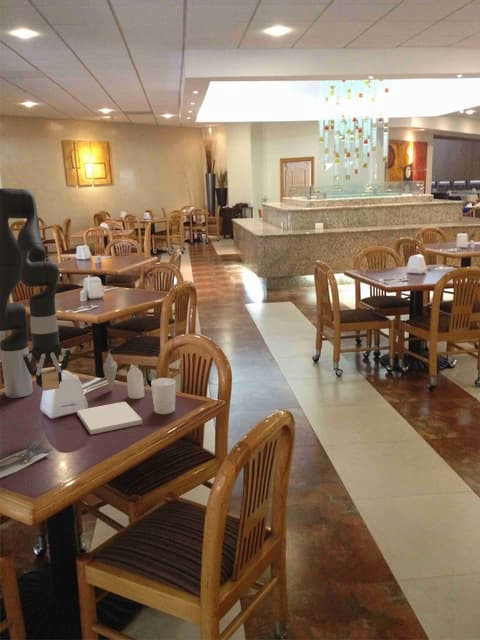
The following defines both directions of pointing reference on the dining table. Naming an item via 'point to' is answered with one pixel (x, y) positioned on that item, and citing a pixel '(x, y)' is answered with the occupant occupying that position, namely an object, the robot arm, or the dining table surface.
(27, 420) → the dining table surface
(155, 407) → the white cup
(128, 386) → the white pointed crystal
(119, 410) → the platter
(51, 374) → the oak block
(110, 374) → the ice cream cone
